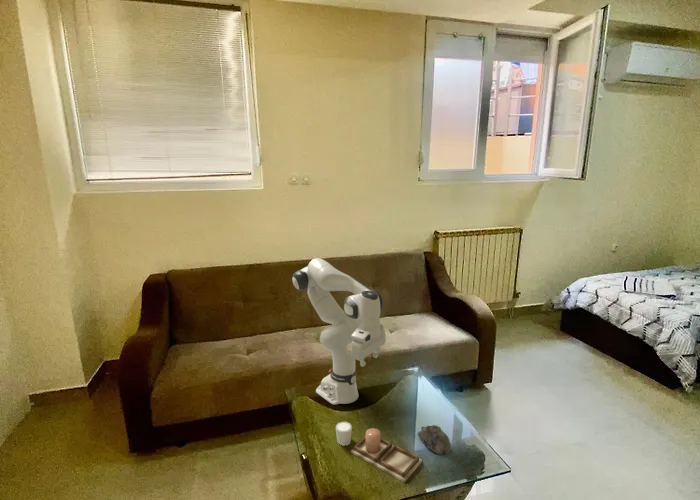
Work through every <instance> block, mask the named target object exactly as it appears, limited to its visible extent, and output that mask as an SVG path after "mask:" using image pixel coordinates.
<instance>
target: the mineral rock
mask: <svg viewBox="0 0 700 500" xmlns="http://www.w3.org/2000/svg"><path fill="white" fill-rule="evenodd" d="M417 435H418V438H419V440H420V441H421V443H423V444H424V445H425V446H426V447H427V449H430V450H431V451H432V452H434V453H435V454H437V455H439V456H440V455H441V456H444V455H447V454H449V452H450V451H451V448H452V447H451V444H452V443H451V441H450V438H449V436H448V435H447V433H445V432H444V431H443V430H442V428H441V427H440V426H438V425H436V424H435V425H434V424H432V425H426V426H422V427H421V428H420V430H419V431H418V432H417Z"/></svg>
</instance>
